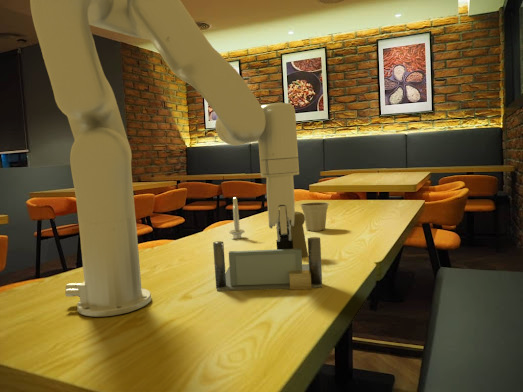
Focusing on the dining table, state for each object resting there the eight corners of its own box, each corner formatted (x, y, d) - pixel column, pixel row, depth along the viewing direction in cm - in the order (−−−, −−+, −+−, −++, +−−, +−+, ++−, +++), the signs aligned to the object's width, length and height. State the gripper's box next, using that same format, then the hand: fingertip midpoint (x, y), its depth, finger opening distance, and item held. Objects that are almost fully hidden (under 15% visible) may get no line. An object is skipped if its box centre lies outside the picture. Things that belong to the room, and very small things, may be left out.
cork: (306, 258, 102) (304, 213, 101) (282, 258, 103) (279, 214, 102) (309, 252, 108) (307, 210, 107) (285, 252, 109) (283, 210, 108)
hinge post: (215, 289, 82) (212, 243, 81) (217, 286, 84) (214, 241, 83) (225, 288, 82) (222, 243, 81) (227, 285, 84) (224, 241, 83)
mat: (217, 290, 81) (216, 289, 81) (228, 268, 97) (228, 267, 97) (321, 287, 80) (321, 285, 80) (316, 265, 96) (316, 263, 95)
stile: (290, 289, 79) (287, 242, 78) (290, 283, 83) (287, 238, 82) (323, 288, 79) (321, 241, 78) (321, 282, 83) (319, 236, 82)
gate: (230, 285, 82) (228, 252, 81) (231, 283, 84) (229, 251, 83) (302, 283, 81) (301, 250, 80) (302, 281, 82) (301, 248, 82)
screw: (245, 236, 135) (244, 239, 130) (230, 237, 135) (229, 240, 130) (242, 195, 134) (242, 197, 129) (227, 196, 134) (226, 198, 129)
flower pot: (297, 229, 143) (295, 203, 142) (322, 226, 146) (321, 201, 145) (308, 233, 134) (307, 206, 133) (335, 230, 137) (333, 203, 136)
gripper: (261, 168, 90) (267, 252, 92) (258, 171, 75) (266, 271, 77) (296, 165, 90) (302, 250, 92) (300, 168, 75) (307, 269, 77)
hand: (285, 259), depth 84 cm, fingers closed
